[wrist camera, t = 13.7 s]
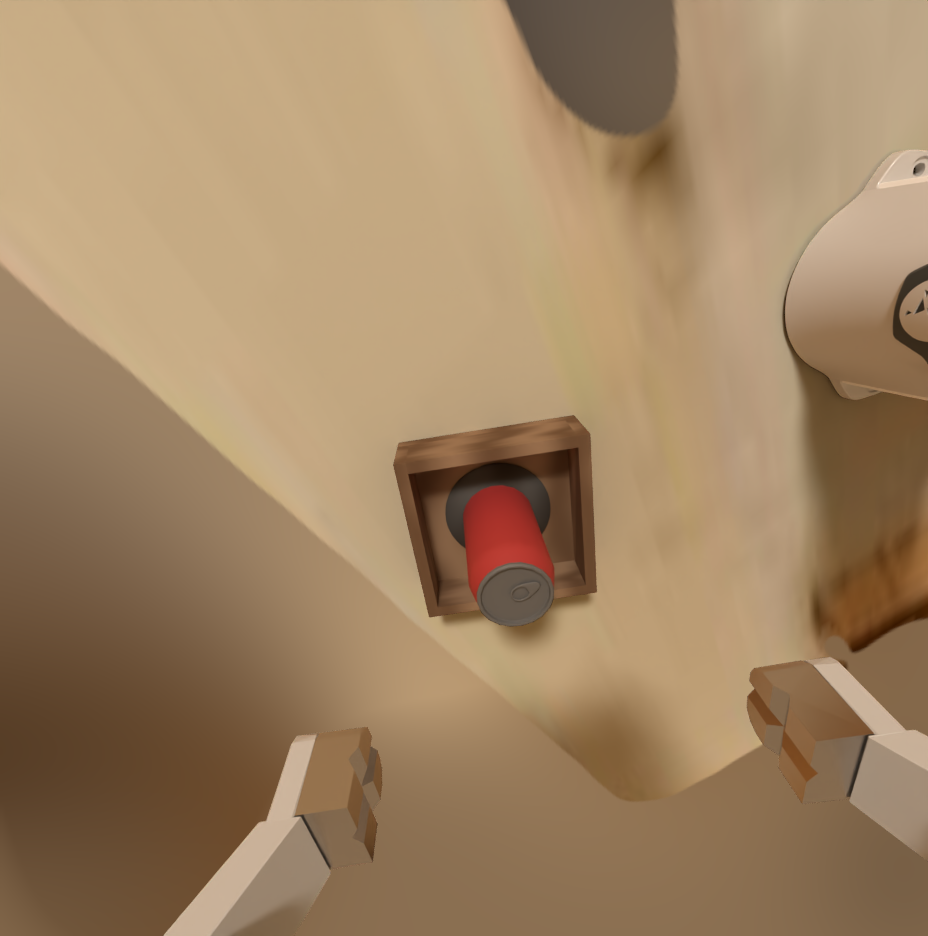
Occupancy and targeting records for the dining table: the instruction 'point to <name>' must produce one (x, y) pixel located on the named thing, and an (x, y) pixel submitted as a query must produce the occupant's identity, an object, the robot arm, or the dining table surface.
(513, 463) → the walnut box
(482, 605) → the beer can
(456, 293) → the dining table surface
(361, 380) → the dining table surface
